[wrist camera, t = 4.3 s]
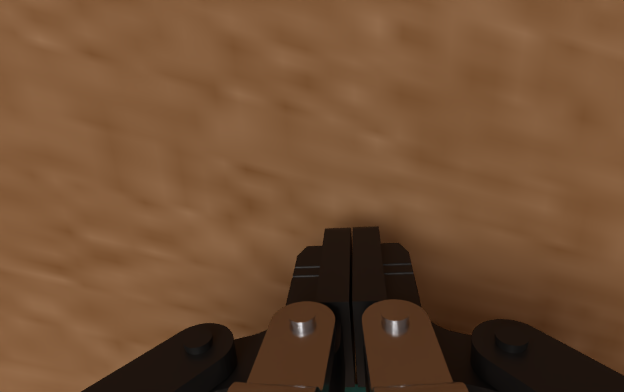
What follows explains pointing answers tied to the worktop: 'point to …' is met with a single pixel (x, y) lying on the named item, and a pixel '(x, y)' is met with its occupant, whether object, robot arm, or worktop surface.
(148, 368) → the robot arm
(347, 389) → the ball
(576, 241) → the worktop surface
